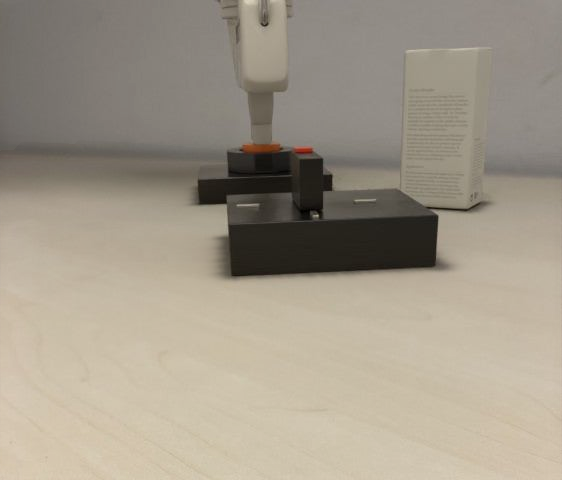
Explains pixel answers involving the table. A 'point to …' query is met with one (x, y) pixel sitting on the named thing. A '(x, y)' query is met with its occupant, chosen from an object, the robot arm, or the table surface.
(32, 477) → the table surface
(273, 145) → the button
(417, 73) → the cosmetic box
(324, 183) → the button block
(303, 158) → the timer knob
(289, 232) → the panel
